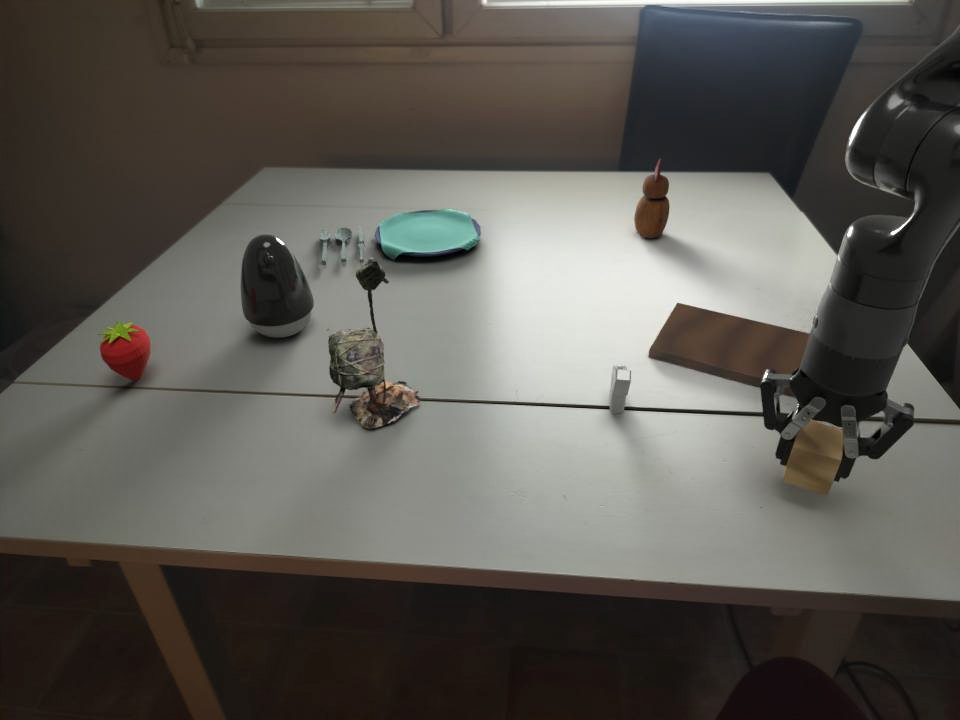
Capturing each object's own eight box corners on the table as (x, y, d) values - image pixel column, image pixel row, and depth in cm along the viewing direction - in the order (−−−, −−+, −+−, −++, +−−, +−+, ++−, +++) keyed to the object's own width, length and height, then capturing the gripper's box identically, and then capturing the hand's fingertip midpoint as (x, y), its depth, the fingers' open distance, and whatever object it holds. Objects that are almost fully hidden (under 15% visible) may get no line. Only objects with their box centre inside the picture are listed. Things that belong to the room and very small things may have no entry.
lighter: (609, 391, 87) (615, 341, 82) (623, 392, 87) (629, 342, 82) (609, 427, 81) (616, 375, 77) (624, 428, 81) (631, 376, 76)
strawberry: (166, 360, 95) (144, 300, 89) (155, 393, 89) (131, 329, 83) (122, 366, 94) (97, 305, 88) (108, 399, 88) (80, 335, 82)
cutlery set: (489, 258, 119) (489, 247, 117) (319, 274, 115) (316, 262, 114) (472, 214, 135) (472, 204, 133) (322, 227, 131) (320, 216, 130)
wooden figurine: (658, 244, 122) (670, 163, 113) (628, 238, 124) (637, 158, 116) (669, 230, 127) (681, 152, 118) (640, 224, 129) (650, 147, 120)
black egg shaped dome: (253, 354, 96) (227, 258, 87) (245, 319, 104) (221, 228, 95) (323, 338, 99) (306, 244, 90) (311, 305, 106) (294, 216, 98)
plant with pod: (327, 400, 87) (300, 262, 75) (411, 381, 90) (397, 245, 78) (338, 440, 80) (310, 296, 69) (428, 418, 83) (416, 276, 72)
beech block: (832, 465, 71) (846, 430, 69) (827, 496, 68) (841, 460, 65) (789, 452, 73) (800, 417, 70) (781, 481, 70) (793, 446, 67)
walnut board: (815, 344, 95) (817, 335, 94) (800, 398, 85) (804, 389, 84) (675, 310, 103) (677, 302, 102) (648, 357, 93) (649, 348, 92)
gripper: (949, 331, 60) (887, 467, 70) (781, 296, 66) (745, 426, 76) (950, 376, 55) (883, 516, 65) (767, 333, 60) (731, 468, 70)
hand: (809, 467), depth 70 cm, fingers closed on beech block, 4 cm apart
